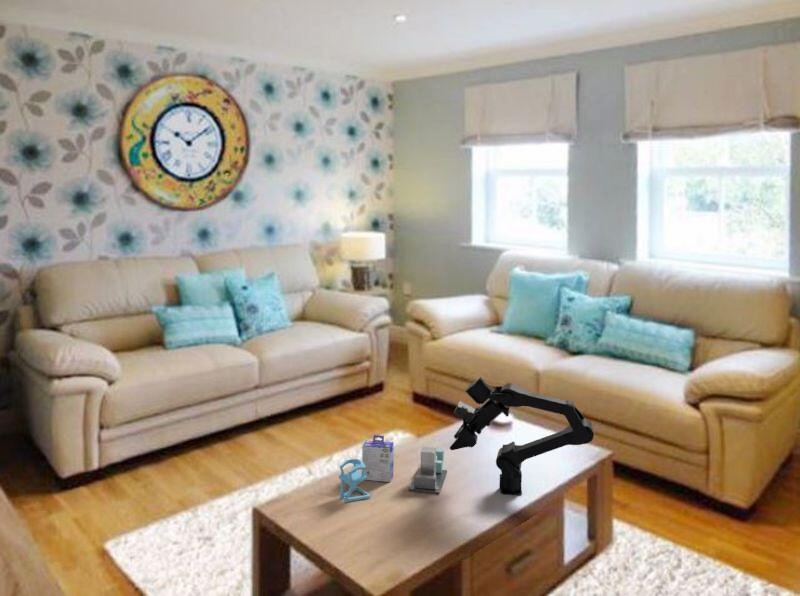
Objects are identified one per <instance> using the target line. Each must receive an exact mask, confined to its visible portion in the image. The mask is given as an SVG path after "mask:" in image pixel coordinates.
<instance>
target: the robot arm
mask: <svg viewBox="0 0 800 596" xmlns="http://www.w3.org/2000/svg"><path fill="white" fill-rule="evenodd" d="M464 393H465V394H467V395H468V396H469V397H470V398H471V400H473V402H475V404H478V405H481V406H477V407H475V408H474V407H472V406H470V404H468V403H467V404H466V403H465V402H463V401H458V403H457V405H456V407H455V409H454V411H453V414H454V415H455V416H456V417H457V416H458V417H459V418H461V419H462V424H461V425H460V427H459V429H457V431H456V432H455V433H454V435H453V438H454V439H455V440H454V441H453V442H452V443H451V444H450V447H449V449H450V450H451V451H455V450H460V449H465V448H473V447H475V446H476V445H477V442H478V435H480V434H482V431H483V430H484V429H485V428H486V427H489V426H491V423H492V422H494V420H495V419H497V417H499V416H500V415H501V414H502V413H503V415H505V417H509V416H510V408H511V407H513V408H520V407H529V408H533V409H538V410H542V411H546V412H551V413H552V414H553V413H554V414H559V415H563V416H564V417H565V418H566V420H567V422H568V423H569V424H568V426H566V427H565V428H564V429H562V430H560V431H558V432H555V433H553V434H549V435H546V436H545V437H541V438H538V439H536V440H533V441H530V442H527V443H525V444H520V445H519V444H516V443H515V441H511V442H510V443H507V444H502V447H500V448H499V449H498V452H497V455H496V459H495V463H496V467H497V469H499V470H500V471H501V473H500V474H499V482H498V483H499V484H498V486H499V489H500V493H501V494H503V495H517V496H518V495H519V494H521V495H523V491H522V477H523V474H522V473H523V472H522V470H521V469H522V463H524V461H526V460H529V459H531V458H535V457H537V456H540V455H543V454H546V453H548V452H551V451H554V450H557V449H559V448H563V447H566V446H580V445H586V444H587V445H588V444H589V443H591V442H592V441H593V439H594V435H595V434H594V426H593V423H592V422H591V421H590V420H589V419H587V418H586V417H584V415H583V413H582V412H581V411H580V410H579V409H578V407H576V405H575V403H574V402H573V401H572V400H570V399H569V400H565V399H559V398H556V397H551V396H547V395H544V394H538V393H535V392H531V391H528V390H527V389H524V388H523V387H521V386H519V385H517V384H514V383H505V384H504V385H500V386H499V385H498V386H497V385H496V386H492V387H490V386H489V385H488V384H487V382H485V379H483V378H482V377H479V378H477V379H476V380H474V381H472V382H471V383H470V384H469V385H468V386H467V387H466V388H465V390H464Z"/></svg>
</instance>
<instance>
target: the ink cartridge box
mask: <svg viewBox="0 0 800 596" xmlns="http://www.w3.org/2000/svg"><path fill="white" fill-rule="evenodd" d="M377 438H380V439H377ZM361 451H362V452H361V455H362V457H361V458H362V460H361V461H362V462H363V463H364V465H365V466H366V467H365V471H364V475H365V476H366V477H367V480H366V481H373V482H384V483H385V482H386V483H388V482H389V483H390V482H391V481H392V479H393V478H394V477H395V474H394V473H395V470H394V468H395V467H394V465H395V464H394V460H395V459H394V453H395V452H394V442H393V441H385V436H384V435H379V434H378V435H376V434H374V435H373V437H372V440H365V442H364V443H363V444H362V446H361Z"/></svg>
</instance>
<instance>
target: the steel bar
mask: <svg viewBox="0 0 800 596" xmlns="http://www.w3.org/2000/svg"><path fill="white" fill-rule="evenodd" d="M436 449H437V447H433V446H422V448H421V450H420V468H421V475H428V476H436Z"/></svg>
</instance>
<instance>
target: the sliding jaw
mask: <svg viewBox="0 0 800 596" xmlns="http://www.w3.org/2000/svg"><path fill="white" fill-rule="evenodd" d="M444 451H445V450H444V449H440V448H436V473H442V470H443V462H444V459H445V458H444V455H445V452H444Z"/></svg>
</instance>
